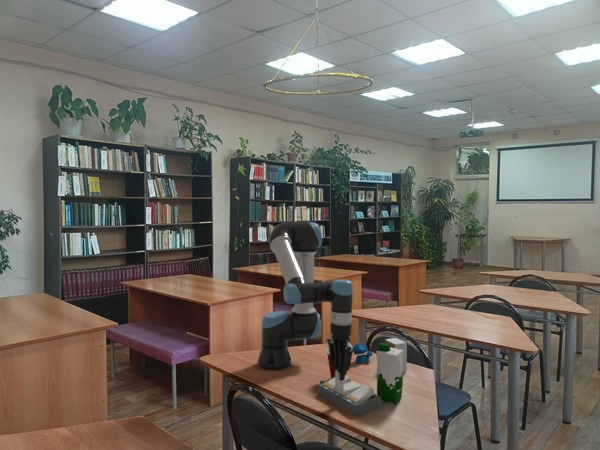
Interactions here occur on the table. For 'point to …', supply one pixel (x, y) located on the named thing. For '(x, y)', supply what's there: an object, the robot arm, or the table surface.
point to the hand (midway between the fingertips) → (339, 388)
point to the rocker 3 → (360, 394)
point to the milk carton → (389, 373)
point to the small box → (399, 345)
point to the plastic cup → (332, 370)
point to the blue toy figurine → (361, 350)
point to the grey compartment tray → (348, 405)
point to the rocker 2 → (348, 388)
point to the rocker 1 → (331, 383)
